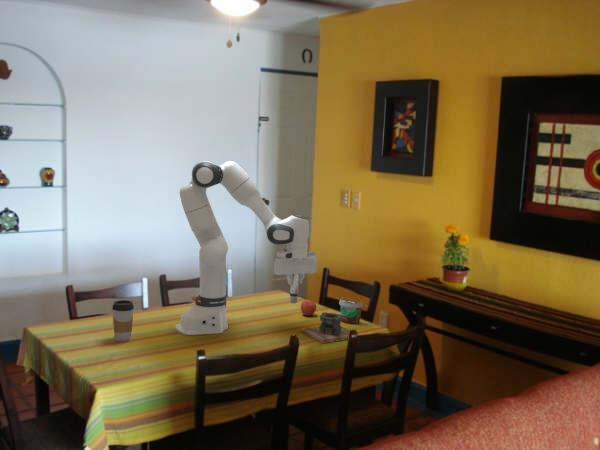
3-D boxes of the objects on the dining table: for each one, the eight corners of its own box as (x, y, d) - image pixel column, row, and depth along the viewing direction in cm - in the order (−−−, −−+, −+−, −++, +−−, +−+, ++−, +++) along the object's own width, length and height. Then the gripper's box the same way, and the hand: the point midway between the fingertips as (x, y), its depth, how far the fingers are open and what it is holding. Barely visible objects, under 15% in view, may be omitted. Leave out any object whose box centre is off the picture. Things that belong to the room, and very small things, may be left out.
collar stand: (322, 343, 284) (323, 323, 282) (302, 332, 297) (303, 313, 296) (358, 338, 293) (359, 318, 292) (336, 327, 306) (338, 308, 305)
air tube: (291, 303, 297) (294, 267, 295) (287, 301, 300) (290, 265, 298) (298, 303, 299) (301, 266, 297) (294, 301, 302) (297, 265, 300)
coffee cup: (110, 336, 279) (110, 300, 276) (131, 335, 282) (132, 299, 280) (113, 343, 271) (113, 306, 269) (135, 341, 274) (135, 304, 272)
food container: (332, 320, 317) (333, 299, 316) (340, 318, 322) (342, 297, 320) (353, 326, 309) (354, 305, 307) (361, 324, 313) (363, 302, 312)
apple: (307, 312, 328) (308, 296, 327) (319, 316, 323) (320, 299, 322) (296, 315, 323) (297, 298, 322) (308, 318, 318) (309, 301, 317)
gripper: (313, 250, 305) (311, 280, 307) (272, 251, 294) (270, 283, 296) (321, 253, 299) (318, 284, 301) (280, 254, 289) (277, 287, 291)
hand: (294, 284), depth 299 cm, fingers closed on air tube, 3 cm apart
